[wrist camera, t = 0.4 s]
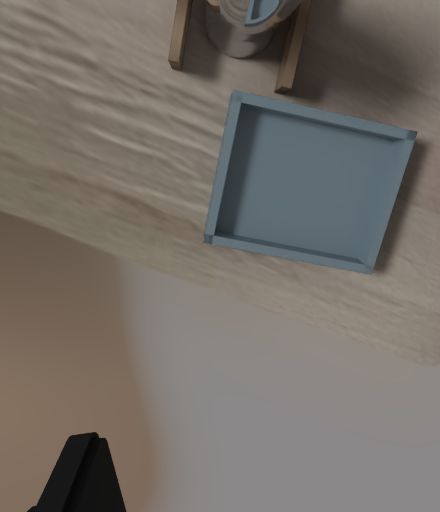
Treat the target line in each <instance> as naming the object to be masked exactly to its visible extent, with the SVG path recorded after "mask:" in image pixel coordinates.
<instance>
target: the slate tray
mask: <svg viewBox="0 0 440 512" xmlns="http://www.w3.org/2000/svg"><path fill="white" fill-rule="evenodd" d="M416 135H417V132H416V131H412V130H408V129H403V128H399V127H394V126H390V125H386V124H381V123H377V122H373V121H368V120H364V119H359V118H355V117H351V116H346V115H342V114H337V113H333V112H329V111H324V110H320V109H315V108H311V107H307V106H302V105H298V104H294V103H289V102H285V101H280V100H276V99H272V98H267V97H263V96H258V95H254V94H250V93H245V92H241V91H237V90H233V92H232V94H231V99H230V104H229V109H228V114H227V119H226V124H225V129H224V134H223V139H222V144H221V149H220V154H219V159H218V164H217V170H216V175H215V180H214V185H213V190H212V195H211V200H210V205H209V210H208V215H207V220H206V225H205V230H204V235H203V243H209V244H214V245H219V246H224V247H229V248H235V249H240V250H245V251H250V252H256V253H261V254H266V255H271V256H277V257H282V258H287V259H292V260H298V261H303V262H308V263H313V264H319V265H324V266H329V267H334V268H340V269H345V270H350V271H355V272H361V273H366V274H372V271H373V268H374V265H375V262H376V259H377V256H378V252H379V249H380V246H381V243H382V240H383V237H384V234H385V231H386V228H387V225H388V222H389V218H390V215H391V212H392V209H393V206H394V203H395V200H396V197H397V194H398V191H399V188H400V184H401V181H402V178H403V175H404V172H405V169H406V166H407V163H408V160H409V157H410V153H411V150H412V147H413V144H414V141H415V138H416Z"/></svg>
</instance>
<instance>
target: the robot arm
mask: <svg viewBox="0 0 440 512" xmlns="http://www.w3.org/2000/svg"><path fill="white" fill-rule="evenodd" d="M27 512H126V509H125V505H124V501H123V498H122V494H121V490H120V487H119V483H118V479H117V476H116V472H115V468H114V465H113V461H112V457H111V453H110V450H109V446H108V442H107V440H106V438H99V435H98V434H97V433H96V432H93V433H85V434H78V435H72V436H70V437H69V438H68V440H67V442H66V444H65V446H64V448H63V450H62V452H61V454H60V456H59V459H58V461H57V463H56V465H55V467H54V469H53V471H52V474H51V476H50V478H49V480H48V482H47V484H46V486H45V488H44V491H43V493H42V495H41V497H40V499H39V501H38V503H37V506H33V507H32V508H30V509H29V510H28V511H27Z"/></svg>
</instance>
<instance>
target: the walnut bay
mask: <svg viewBox="0 0 440 512" xmlns="http://www.w3.org/2000/svg"><path fill="white" fill-rule="evenodd" d="M192 1H193V0H177V6H176V12H175V19H174V25H173V32H172V38H171V45H170V51H169V58H168V61H169V63H170V65H171V68H172V69H176V70H180V71H181V68H182V61H183V55H184V49H185V43H186V37H187V31H188V25H189V19H190V13H191V7H192ZM311 3H312V0H302V2H301V3H300V4H299V6H298V7H297V8H296V10H295V11H294V12H293V13H292V16H291V20H290V25H289V29H288V33H287V38H286V42H285V47H284V51H283V56H282V60H281V65H280V69H279V73H278V78H277V82H276V87H275V91H274V92H276V93H280V94H284V93H285V92H287V91H288V90H290V89H291V88H292V84H293V79H294V75H295V71H296V67H297V62H298V58H299V54H300V50H301V45H302V41H303V37H304V33H305V28H306V24H307V20H308V16H309V11H310V7H311Z"/></svg>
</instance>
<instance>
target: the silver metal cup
mask: <svg viewBox="0 0 440 512" xmlns="http://www.w3.org/2000/svg"><path fill="white" fill-rule="evenodd" d="M205 2H206V7H205V14H204V20H205V27H206V31H207V34H208V36H209V38H210V40H211V41H212V43H213V44H214V45H215V46H216V47H217V48H218V49H219V50H220V51H221V52H223V53H224V54H226V55H228V56H231V57H236V58H245V57H250V56H252V55H255V54H257V53H258V52H260V51H261V50H262V49H263V48H264V47H265V46H266V45H267V44H268V43H269V41H270V39H271V38H272V36H273V33H274V31H275V28H276V27H277V26H279V25H280V24H281V23H282V22H284V21H285V20H286V19H287V18H288V17H289V16H290V15H291V14H292V13H293V12H294V11H295V10H296V8H297V7H298V6H299V4H300V3H301V2H302V0H205Z"/></svg>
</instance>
